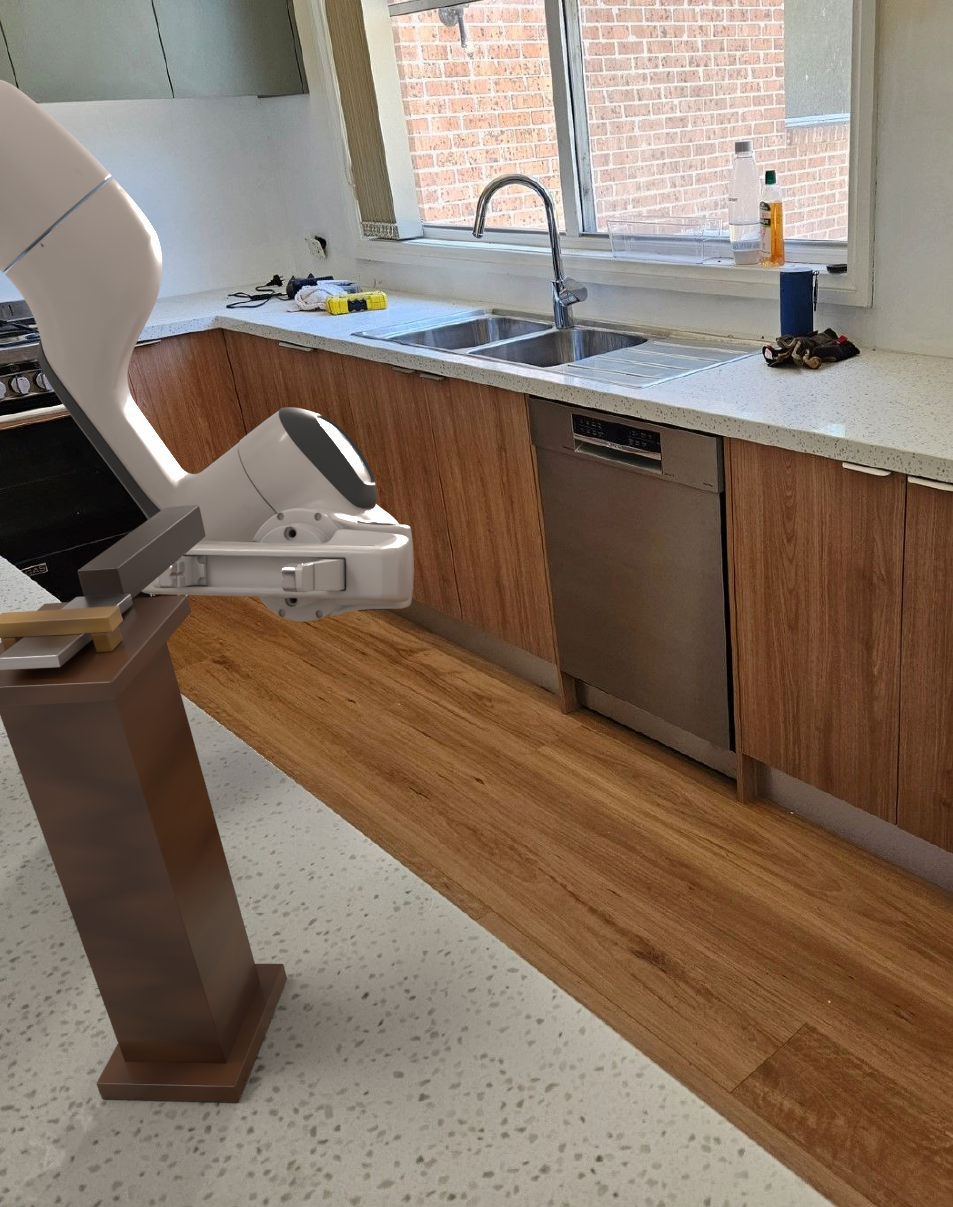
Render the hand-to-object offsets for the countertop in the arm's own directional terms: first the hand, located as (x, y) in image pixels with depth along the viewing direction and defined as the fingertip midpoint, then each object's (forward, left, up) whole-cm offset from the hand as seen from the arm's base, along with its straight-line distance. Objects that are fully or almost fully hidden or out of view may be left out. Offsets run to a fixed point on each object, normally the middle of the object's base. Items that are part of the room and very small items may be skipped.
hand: (225, 577), depth 71 cm
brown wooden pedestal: (0, -19, -21) cm, 28 cm away
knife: (0, -13, +5) cm, 14 cm away
